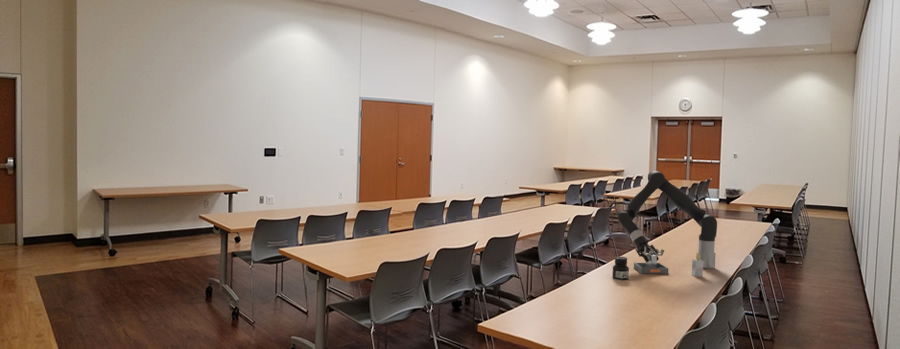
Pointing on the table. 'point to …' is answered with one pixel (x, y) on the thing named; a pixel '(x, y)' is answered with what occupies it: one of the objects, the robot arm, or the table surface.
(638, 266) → the tray
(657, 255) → the mechanical component
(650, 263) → the block
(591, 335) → the table surface
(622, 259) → the ink bottle
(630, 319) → the table surface
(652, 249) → the robot arm
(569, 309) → the table surface
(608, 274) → the table surface
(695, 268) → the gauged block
